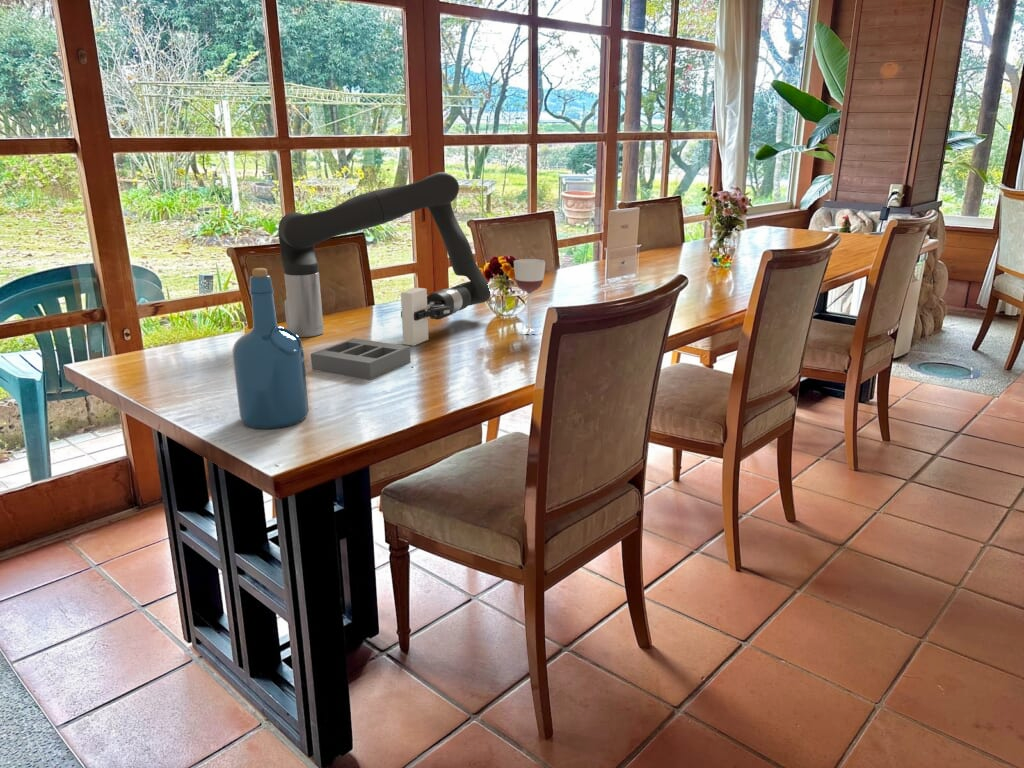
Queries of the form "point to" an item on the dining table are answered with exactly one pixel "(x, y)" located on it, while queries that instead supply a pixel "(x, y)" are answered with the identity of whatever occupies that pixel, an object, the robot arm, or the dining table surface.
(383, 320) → the dining table surface
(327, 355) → the rack
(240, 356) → the wine bottle
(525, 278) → the wineglass
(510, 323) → the dining table surface
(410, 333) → the white box
